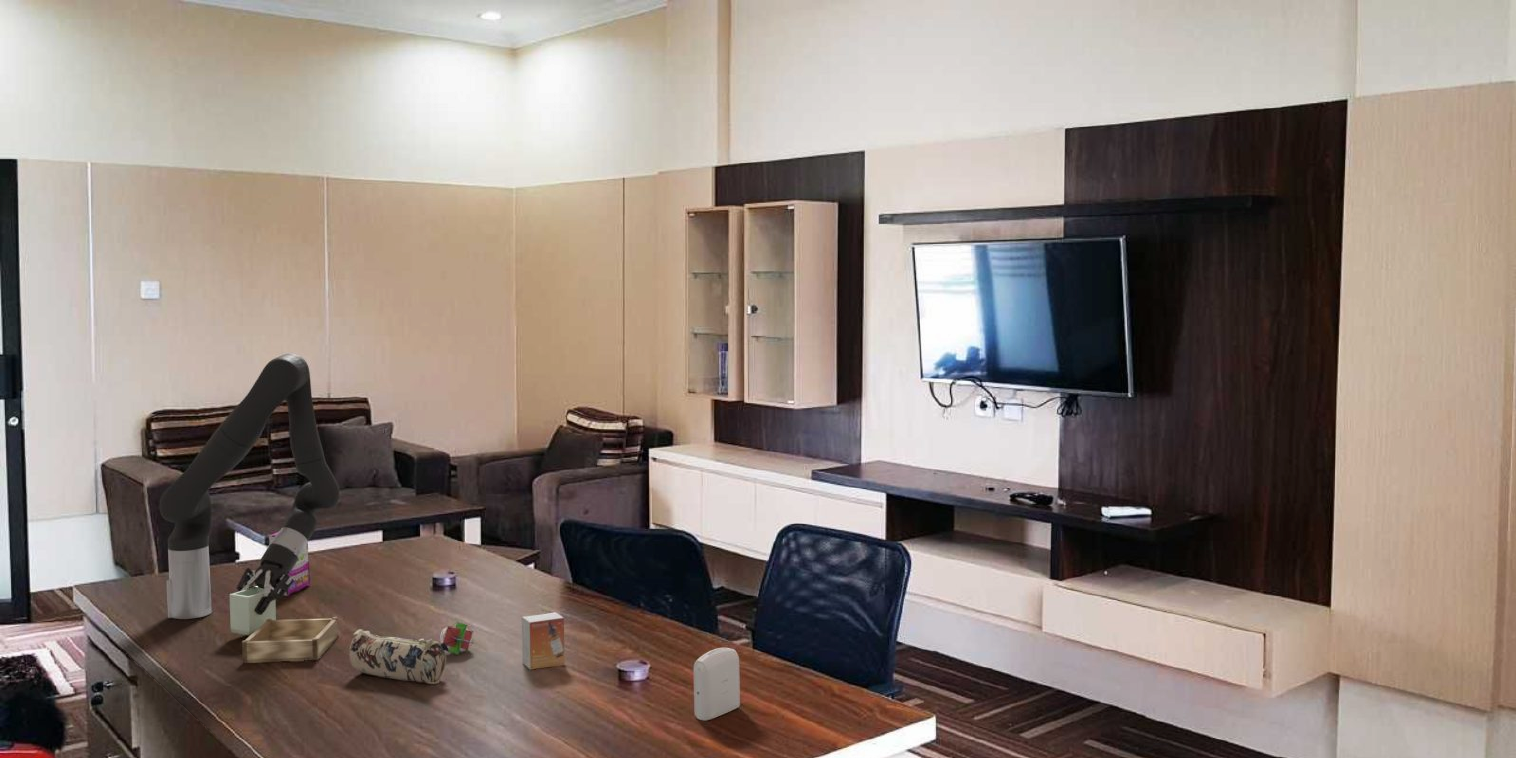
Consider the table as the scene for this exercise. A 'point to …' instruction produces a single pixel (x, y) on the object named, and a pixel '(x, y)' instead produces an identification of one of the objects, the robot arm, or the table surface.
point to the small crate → (249, 611)
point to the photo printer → (716, 683)
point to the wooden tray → (290, 640)
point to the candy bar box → (298, 571)
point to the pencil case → (398, 657)
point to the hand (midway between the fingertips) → (247, 611)
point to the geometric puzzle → (456, 637)
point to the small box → (543, 640)
